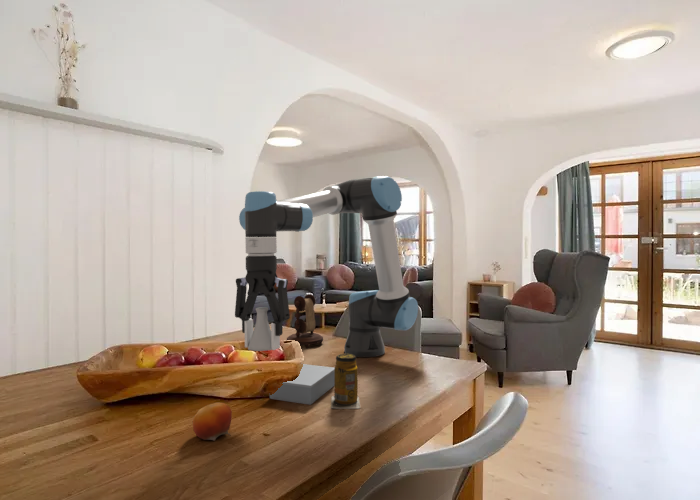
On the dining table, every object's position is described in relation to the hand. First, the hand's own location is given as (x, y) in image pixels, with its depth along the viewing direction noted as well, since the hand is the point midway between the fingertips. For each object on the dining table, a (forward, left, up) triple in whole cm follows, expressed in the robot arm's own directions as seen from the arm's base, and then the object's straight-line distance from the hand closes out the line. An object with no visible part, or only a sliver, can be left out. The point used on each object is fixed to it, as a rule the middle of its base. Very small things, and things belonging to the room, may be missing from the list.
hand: (262, 347), depth 107 cm
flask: (0, 0, -1) cm, 1 cm away
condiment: (-11, +18, -16) cm, 26 cm away
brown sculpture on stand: (-65, -21, -16) cm, 70 cm away
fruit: (+16, -2, -16) cm, 23 cm away
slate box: (-15, +4, -15) cm, 22 cm away
